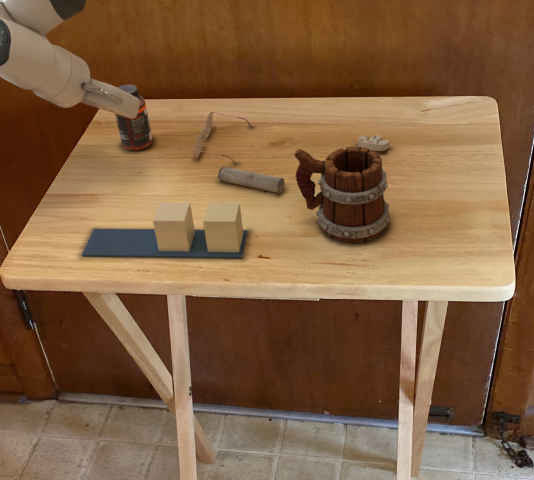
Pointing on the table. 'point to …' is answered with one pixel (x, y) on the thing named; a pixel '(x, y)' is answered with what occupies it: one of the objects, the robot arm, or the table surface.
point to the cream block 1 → (174, 226)
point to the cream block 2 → (223, 227)
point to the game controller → (373, 143)
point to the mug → (346, 192)
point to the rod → (251, 179)
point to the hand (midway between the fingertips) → (115, 106)
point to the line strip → (148, 245)
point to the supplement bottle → (135, 124)
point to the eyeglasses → (207, 131)
